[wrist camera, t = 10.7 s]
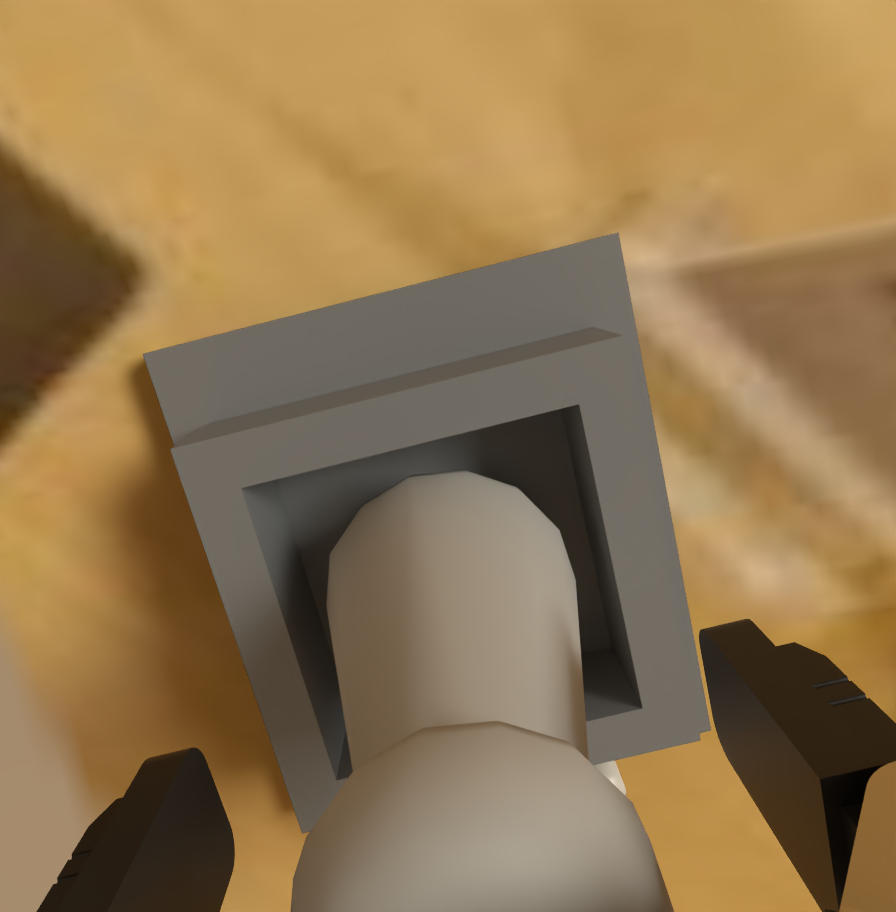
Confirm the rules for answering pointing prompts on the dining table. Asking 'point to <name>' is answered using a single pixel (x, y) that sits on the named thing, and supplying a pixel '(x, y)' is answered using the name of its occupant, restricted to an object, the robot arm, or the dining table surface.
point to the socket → (433, 451)
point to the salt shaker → (466, 720)
